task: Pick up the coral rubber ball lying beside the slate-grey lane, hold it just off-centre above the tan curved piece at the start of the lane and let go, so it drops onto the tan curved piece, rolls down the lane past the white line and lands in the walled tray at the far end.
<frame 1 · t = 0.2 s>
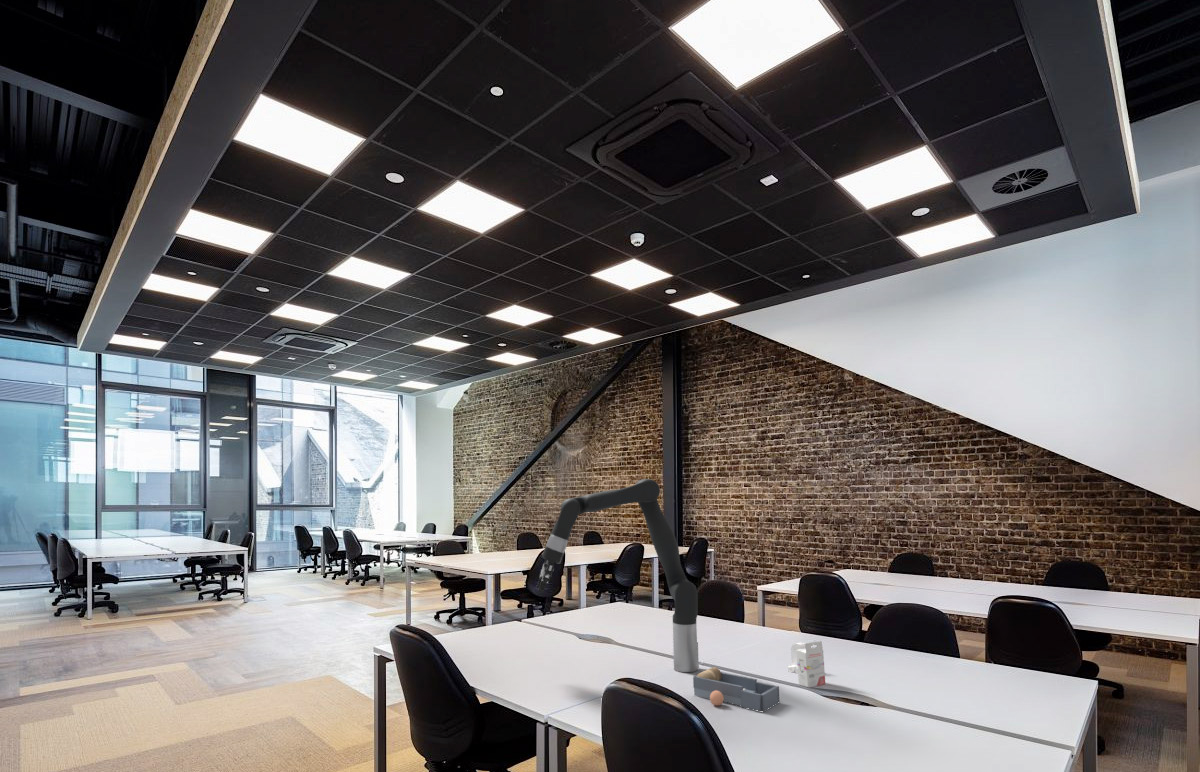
hand: (539, 590, 238), 31 cm above the table, tool tilted 20°, fingers open, 8 cm apart
ball: (716, 698, 203), point 2 cm above the table
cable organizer: (800, 671, 241), on the table
ink cartridge box: (811, 684, 224), on the table
tan curved piece: (709, 693, 215), resting on lane
lane: (730, 698, 209), on the table
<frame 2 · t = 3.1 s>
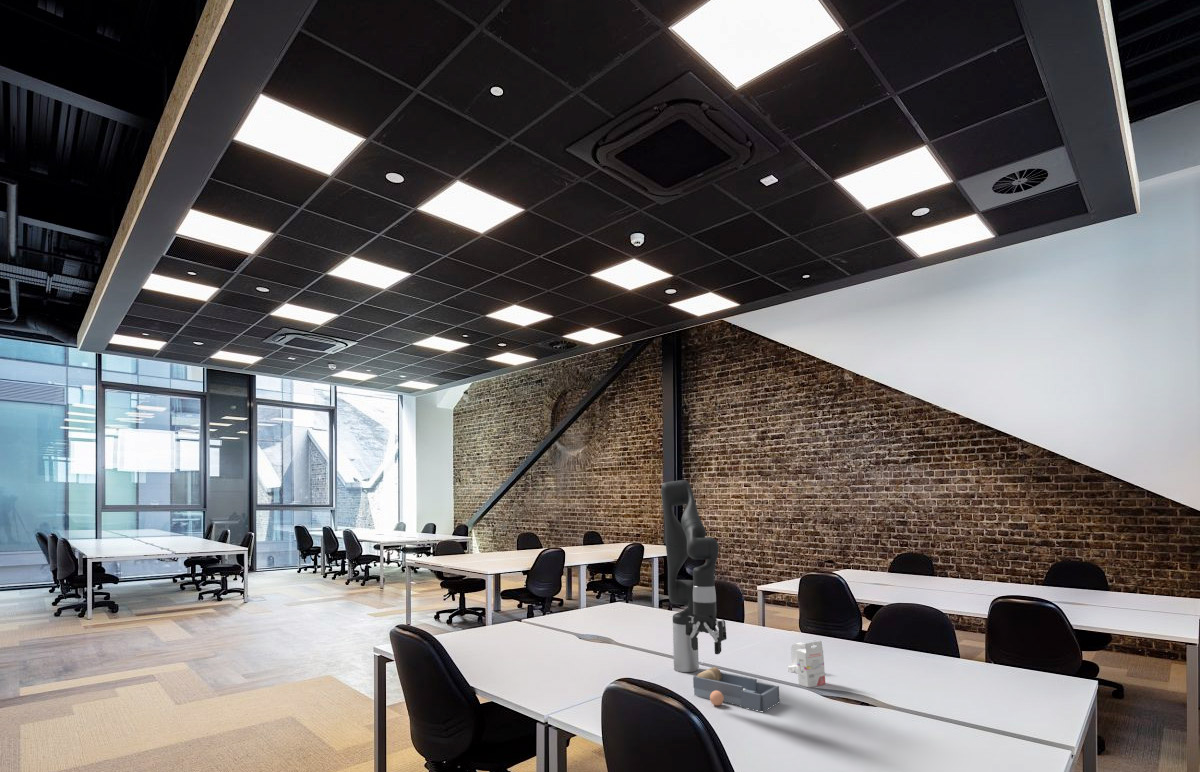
hand: (706, 651, 204), 17 cm above the table, tool pointing down, fingers open, 8 cm apart
nothing on the table moved.
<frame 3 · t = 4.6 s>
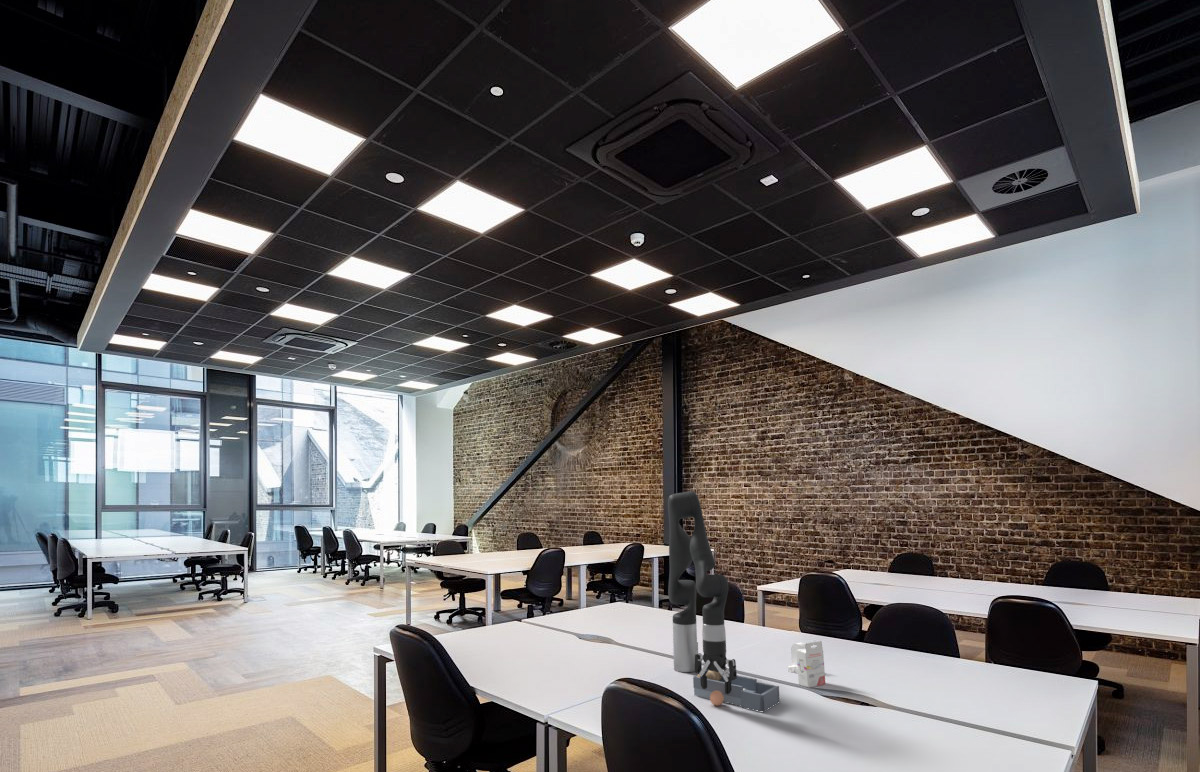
hand: (715, 690, 203), 4 cm above the table, tool pointing down, fingers open, 8 cm apart
nothing on the table moved.
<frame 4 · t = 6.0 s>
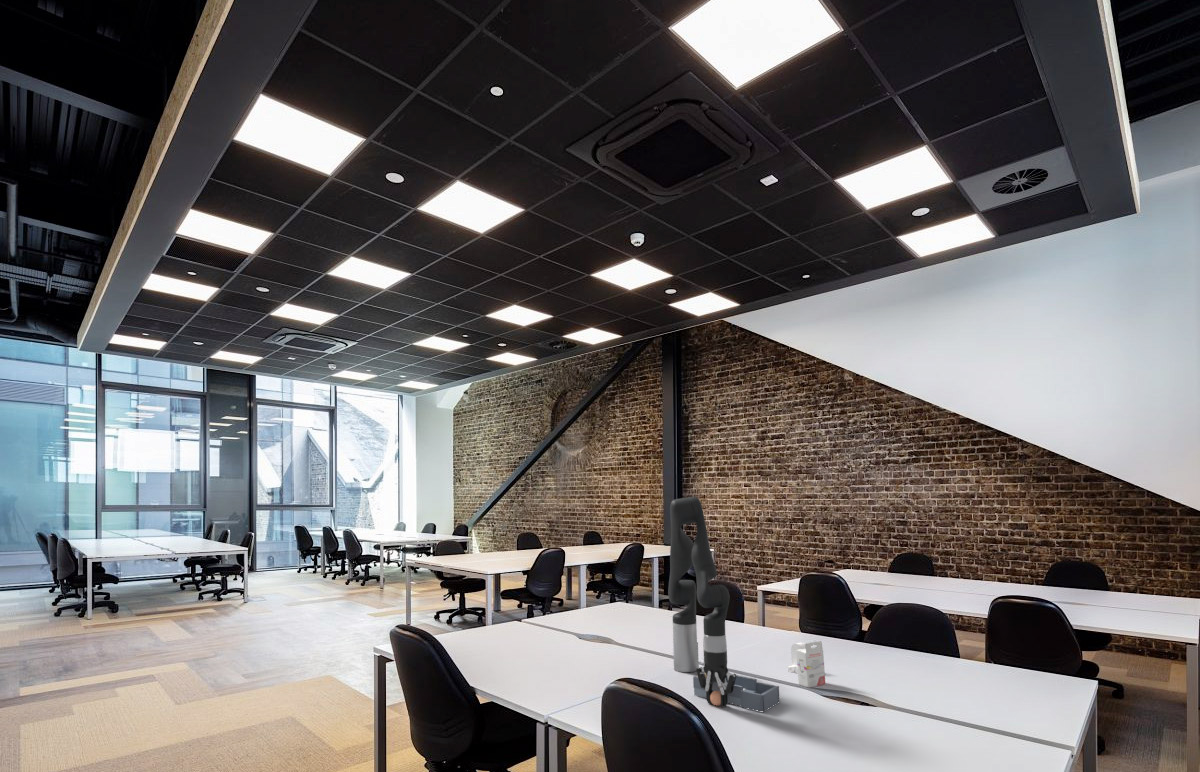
hand: (717, 704, 203), 0 cm above the table, tool pointing down, fingers closed on ball, 4 cm apart
ball: (716, 698, 203), point 2 cm above the table, touching gripper
everything else where it was.
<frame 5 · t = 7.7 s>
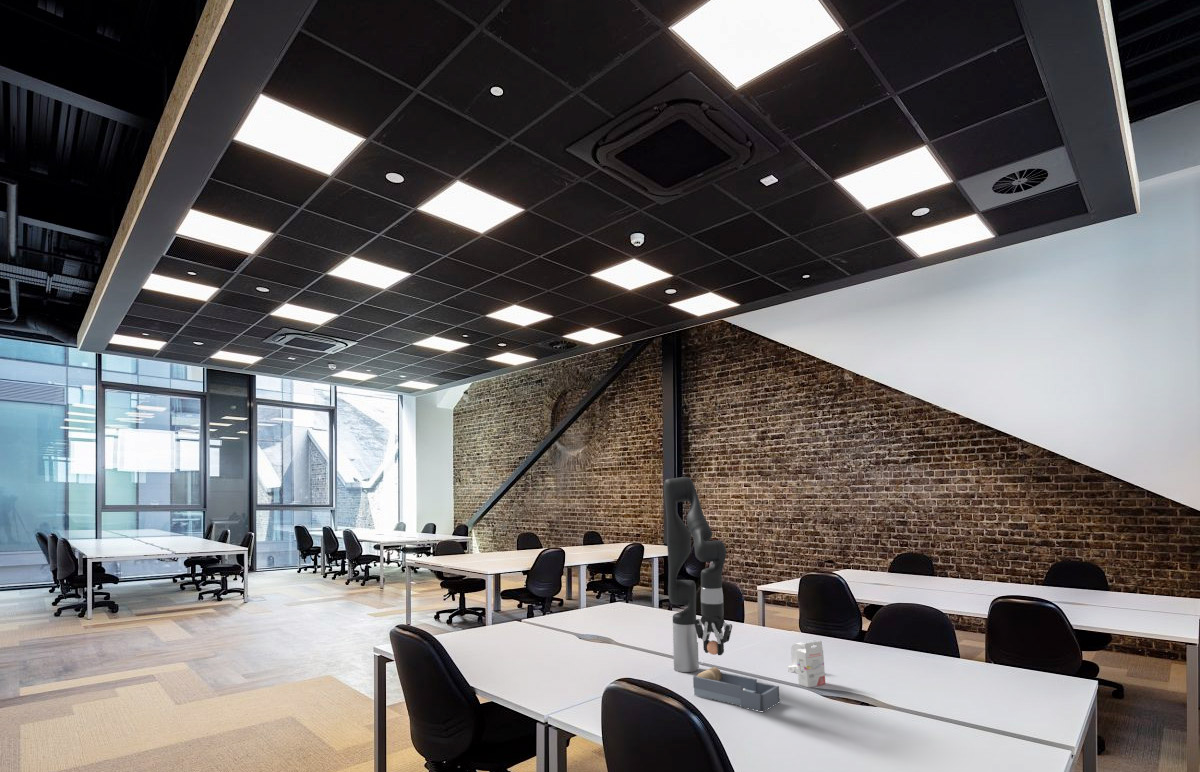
hand: (713, 653, 211), 14 cm above the table, tool pointing down, fingers closed on ball, 4 cm apart
ball: (713, 647, 211), point 16 cm above the table, touching gripper
everything else where it was.
when the fingers open (10 cm above the table, at t = 9.2 s): ball drops 10 cm and tips over, point 2 cm above the table.
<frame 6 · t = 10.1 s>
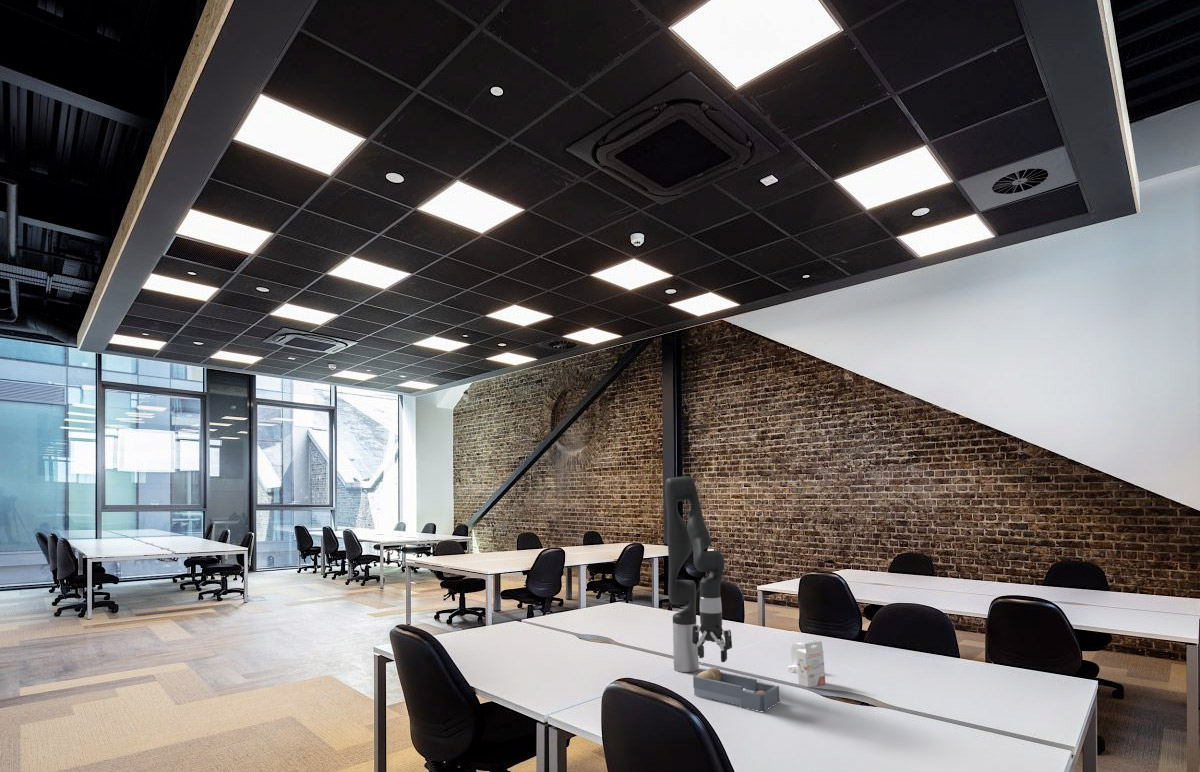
hand: (712, 659, 215), 11 cm above the table, tool pointing down, fingers open, 8 cm apart
ball: (761, 698, 203), point 2 cm above the table, tilted 178°
everything else where it was.
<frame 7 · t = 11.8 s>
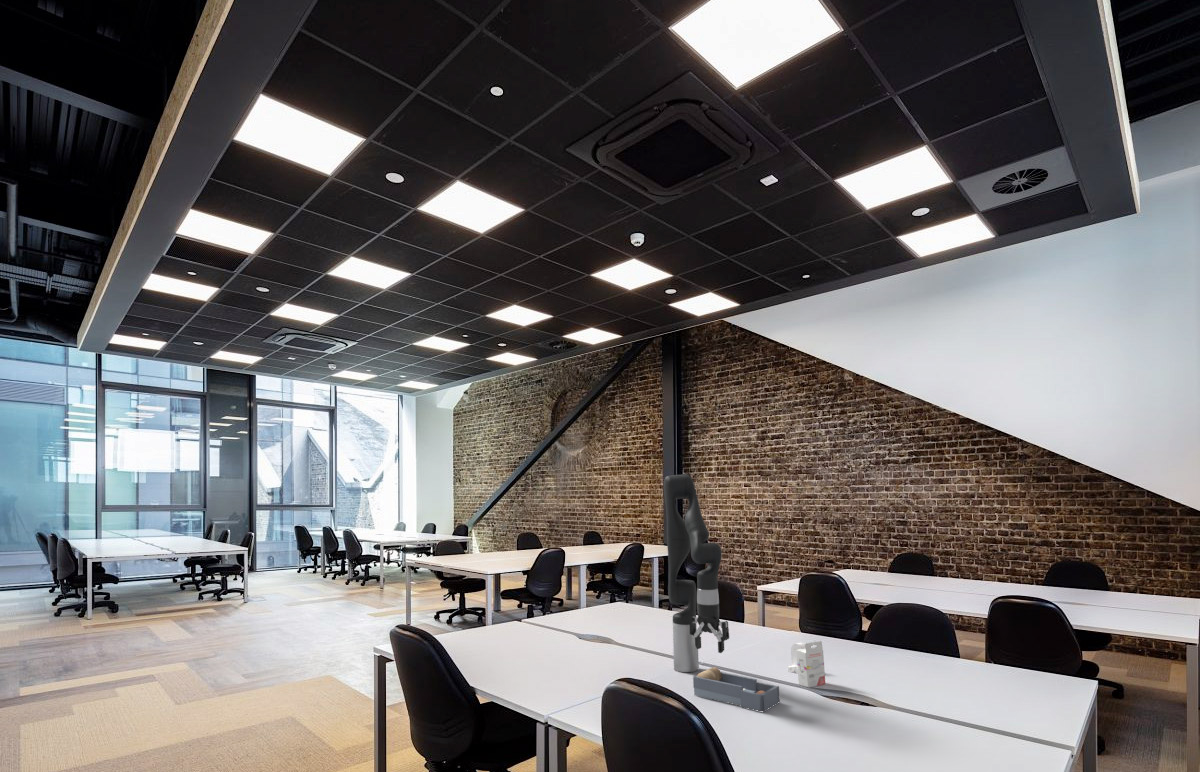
hand: (709, 650, 217), 14 cm above the table, tool pointing down, fingers open, 8 cm apart
nothing on the table moved.
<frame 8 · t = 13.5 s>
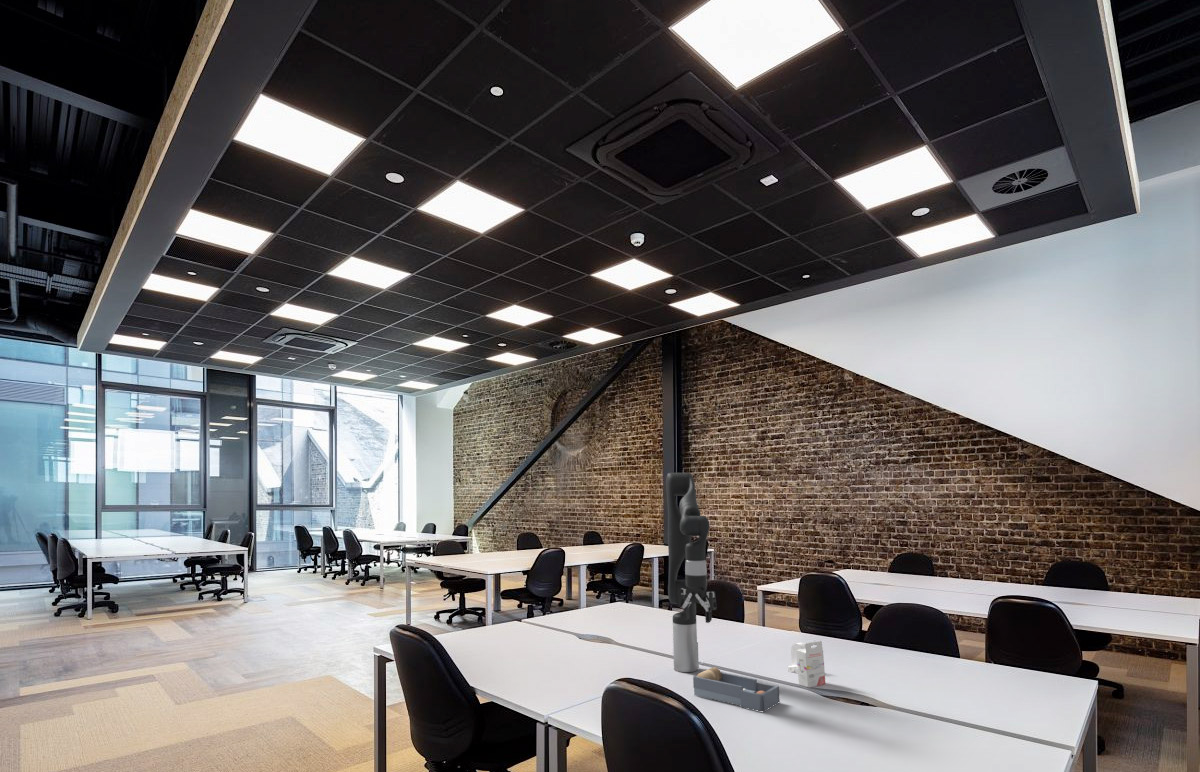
hand: (697, 620, 221), 23 cm above the table, tool pointing down, fingers open, 8 cm apart
nothing on the table moved.
at the end: ball inside the target area on the lane (1.1 cm from its centre), point 2.2 cm above the lane's base; the gripper is holding nothing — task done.
